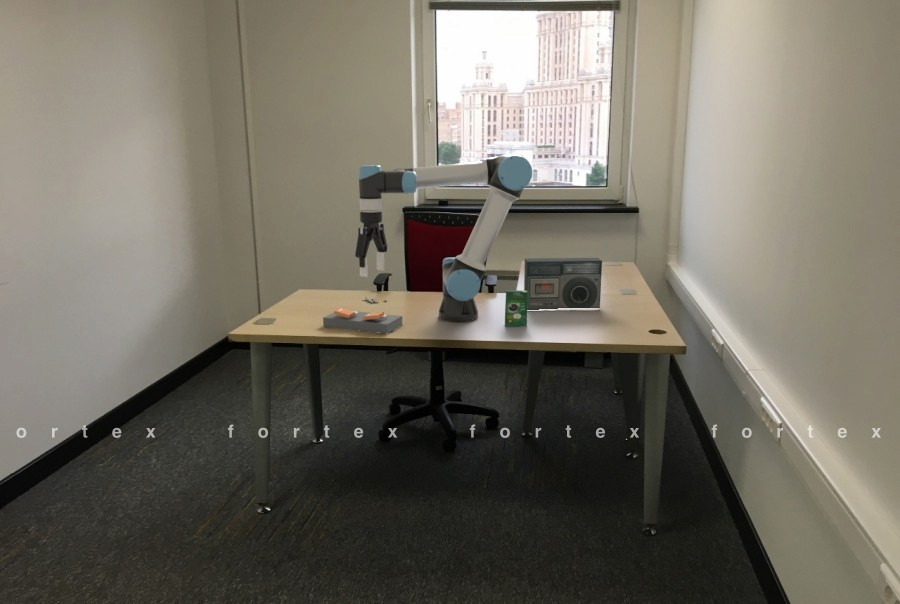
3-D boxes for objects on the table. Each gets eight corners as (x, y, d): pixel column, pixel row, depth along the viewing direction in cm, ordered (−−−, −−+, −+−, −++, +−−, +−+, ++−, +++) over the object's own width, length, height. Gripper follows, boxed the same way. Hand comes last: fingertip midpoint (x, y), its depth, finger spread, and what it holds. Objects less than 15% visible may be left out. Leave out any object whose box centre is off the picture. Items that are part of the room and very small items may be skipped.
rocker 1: (354, 315, 244) (355, 311, 244) (348, 318, 240) (348, 314, 240) (340, 310, 246) (340, 307, 246) (334, 313, 242) (334, 310, 242)
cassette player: (526, 311, 263) (527, 261, 258) (523, 307, 270) (524, 258, 265) (599, 310, 264) (602, 260, 259) (595, 306, 270) (597, 257, 266)
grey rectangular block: (402, 325, 245) (402, 315, 244) (387, 334, 234) (387, 323, 233) (340, 318, 254) (340, 308, 253) (323, 326, 243) (322, 316, 243)
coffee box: (526, 324, 245) (527, 289, 242) (527, 326, 242) (528, 291, 239) (504, 324, 245) (505, 289, 242) (505, 326, 242) (505, 291, 239)
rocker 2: (384, 315, 239) (383, 311, 239) (378, 318, 235) (378, 314, 235) (369, 316, 242) (369, 313, 242) (364, 319, 238) (363, 316, 238)
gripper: (377, 207, 242) (379, 266, 247) (343, 213, 221) (345, 278, 226) (396, 208, 239) (397, 268, 244) (363, 214, 218) (364, 280, 223)
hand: (372, 273), depth 235 cm, fingers open, 11 cm apart
